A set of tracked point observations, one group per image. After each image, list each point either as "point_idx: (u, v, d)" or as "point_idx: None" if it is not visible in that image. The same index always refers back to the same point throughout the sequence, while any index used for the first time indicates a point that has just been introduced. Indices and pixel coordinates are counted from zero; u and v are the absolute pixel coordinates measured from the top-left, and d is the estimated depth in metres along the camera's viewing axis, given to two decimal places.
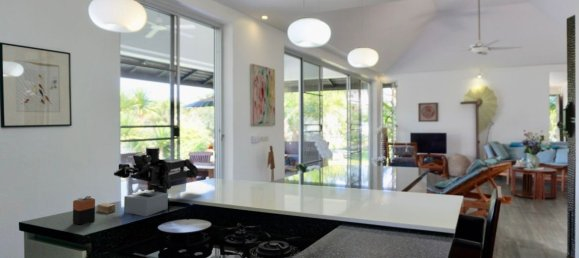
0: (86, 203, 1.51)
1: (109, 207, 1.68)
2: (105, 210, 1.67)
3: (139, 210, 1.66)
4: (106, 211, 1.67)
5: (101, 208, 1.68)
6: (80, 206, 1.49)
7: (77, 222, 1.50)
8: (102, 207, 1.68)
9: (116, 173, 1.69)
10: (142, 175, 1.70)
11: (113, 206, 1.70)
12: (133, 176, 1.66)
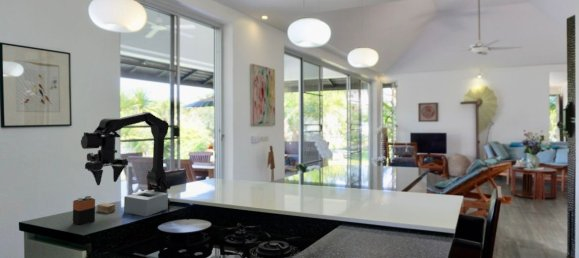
0: (86, 203, 1.51)
1: (109, 207, 1.68)
2: (105, 210, 1.67)
3: (139, 210, 1.66)
4: (106, 211, 1.67)
5: (101, 208, 1.68)
6: (80, 206, 1.49)
7: (77, 222, 1.50)
8: (102, 207, 1.68)
9: (114, 179, 1.73)
10: (97, 172, 1.63)
11: (113, 206, 1.70)
12: (97, 183, 1.64)
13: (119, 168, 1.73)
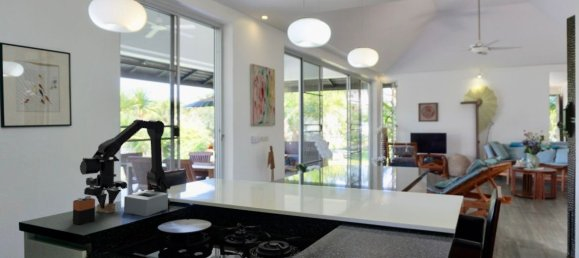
0: (86, 203, 1.51)
1: (109, 206, 1.68)
2: (105, 210, 1.67)
3: (139, 210, 1.66)
4: (106, 210, 1.67)
5: None
6: (80, 206, 1.49)
7: (77, 222, 1.50)
8: None
9: None
10: (101, 196, 1.66)
11: (113, 205, 1.70)
12: (101, 206, 1.67)
13: (114, 192, 1.71)
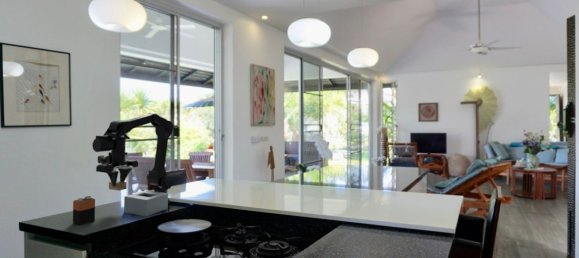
0: (86, 203, 1.51)
1: (121, 184, 1.68)
2: (117, 188, 1.68)
3: (139, 210, 1.66)
4: (118, 188, 1.68)
5: None
6: (80, 206, 1.49)
7: (77, 222, 1.50)
8: None
9: None
10: (112, 174, 1.66)
11: (124, 183, 1.70)
12: (113, 184, 1.68)
13: (125, 171, 1.71)
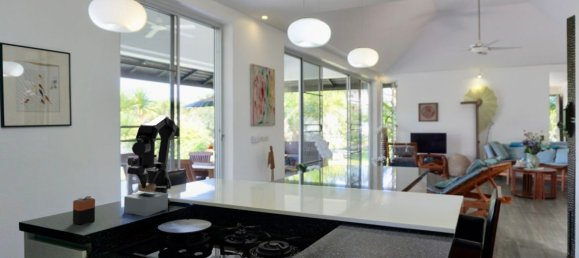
0: (86, 203, 1.51)
1: (150, 186, 1.71)
2: (147, 189, 1.70)
3: (139, 210, 1.66)
4: (147, 190, 1.70)
5: None
6: (80, 206, 1.49)
7: (77, 222, 1.50)
8: None
9: None
10: (142, 176, 1.69)
11: (154, 185, 1.73)
12: (143, 186, 1.70)
13: (154, 173, 1.74)
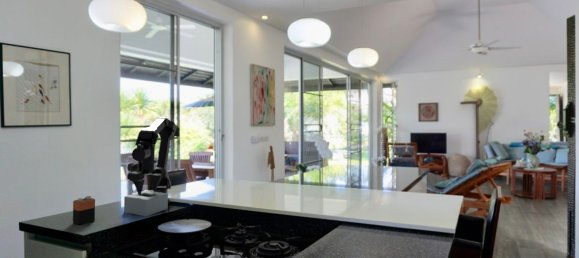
0: (86, 203, 1.51)
1: None
2: None
3: (139, 210, 1.66)
4: None
5: None
6: (80, 206, 1.49)
7: (77, 222, 1.50)
8: None
9: (153, 188, 1.77)
10: (138, 182, 1.67)
11: None
12: (139, 192, 1.68)
13: (158, 177, 1.77)
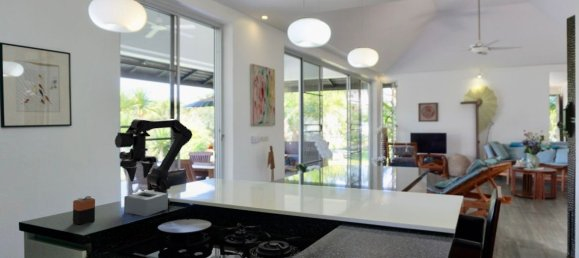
0: (86, 203, 1.51)
1: None
2: None
3: (139, 210, 1.66)
4: None
5: None
6: (80, 206, 1.49)
7: (77, 222, 1.50)
8: None
9: (144, 175, 1.85)
10: (131, 169, 1.75)
11: None
12: (131, 179, 1.76)
13: (149, 165, 1.85)
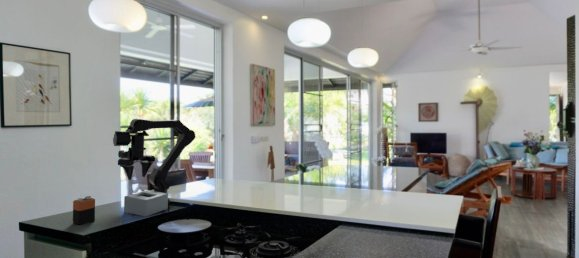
0: (86, 203, 1.51)
1: None
2: None
3: (139, 210, 1.66)
4: None
5: None
6: (80, 206, 1.49)
7: (77, 222, 1.50)
8: None
9: (143, 174, 1.87)
10: (128, 168, 1.77)
11: None
12: (129, 178, 1.78)
13: (147, 164, 1.87)
